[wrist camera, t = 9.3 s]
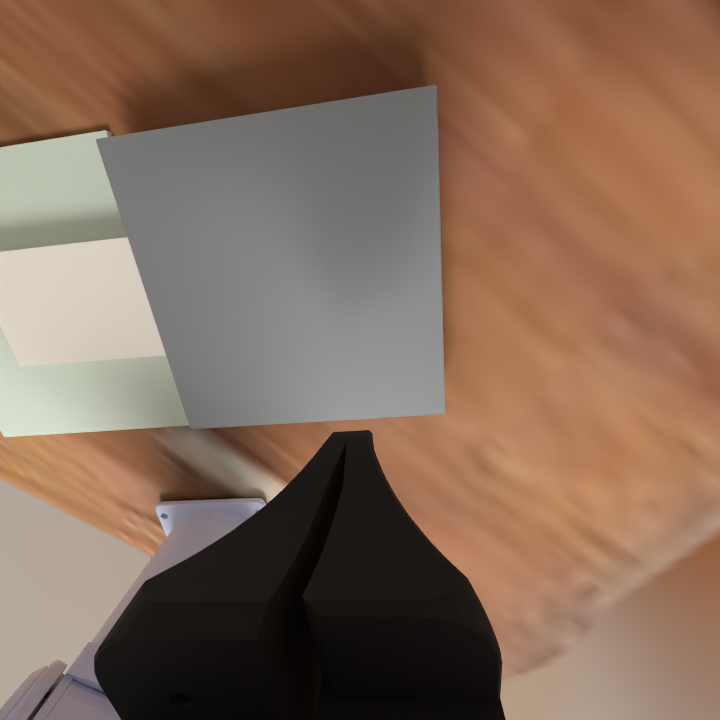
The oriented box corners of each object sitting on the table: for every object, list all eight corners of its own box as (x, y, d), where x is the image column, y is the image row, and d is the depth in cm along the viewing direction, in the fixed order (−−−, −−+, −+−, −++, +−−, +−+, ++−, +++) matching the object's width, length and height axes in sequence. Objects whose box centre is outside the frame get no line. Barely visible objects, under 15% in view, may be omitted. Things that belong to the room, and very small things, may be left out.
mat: (201, 422, 21) (198, 425, 21) (8, 434, 23) (4, 437, 23) (110, 131, 16) (105, 130, 16) (-136, 171, 17) (-144, 170, 17)
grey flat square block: (437, 392, 20) (445, 413, 17) (212, 407, 21) (190, 429, 19) (428, 108, 15) (437, 84, 12) (137, 153, 16) (95, 139, 14)
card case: (185, 346, 19) (169, 355, 18) (45, 357, 20) (20, 366, 19) (152, 236, 17) (132, 236, 16) (-2, 253, 18) (-34, 255, 17)
